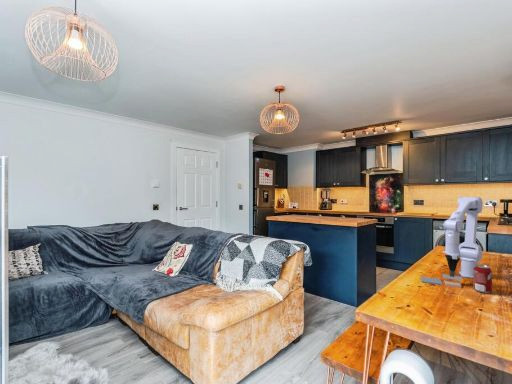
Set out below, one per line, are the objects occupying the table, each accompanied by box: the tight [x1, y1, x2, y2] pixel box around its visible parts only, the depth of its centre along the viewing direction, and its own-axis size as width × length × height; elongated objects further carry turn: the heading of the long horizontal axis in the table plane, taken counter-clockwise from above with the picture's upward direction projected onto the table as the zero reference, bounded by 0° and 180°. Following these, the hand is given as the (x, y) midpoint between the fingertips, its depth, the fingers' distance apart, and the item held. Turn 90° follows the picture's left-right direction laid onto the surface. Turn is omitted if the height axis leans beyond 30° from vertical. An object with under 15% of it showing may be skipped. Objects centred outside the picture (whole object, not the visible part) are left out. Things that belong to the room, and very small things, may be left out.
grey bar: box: [441, 270, 463, 281], centre depth 139 cm, size 3×8×7 cm, turn 63°
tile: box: [444, 279, 462, 289], centre depth 137 cm, size 2×6×6 cm
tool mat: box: [419, 275, 443, 286], centre depth 143 cm, size 9×9×1 cm
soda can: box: [472, 264, 493, 294], centre depth 129 cm, size 7×7×12 cm
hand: (452, 270), depth 139 cm, fingers closed on grey bar, 2 cm apart
